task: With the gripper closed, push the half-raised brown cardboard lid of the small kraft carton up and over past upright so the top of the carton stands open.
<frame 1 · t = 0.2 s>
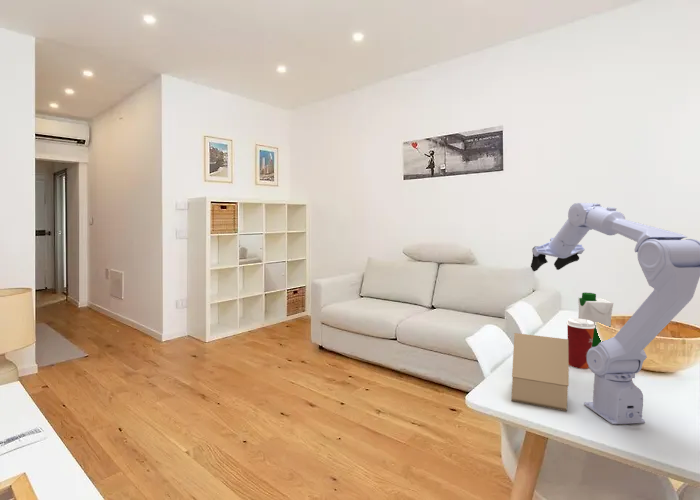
hand: (544, 267, 116), 30 cm above the table, tool tilted 45°, fingers open, 7 cm apart
carton lid: (540, 358, 96), point 11 cm above the table, hinge at 55.0°
paper cup: (578, 365, 120), on the table
milk carton: (592, 352, 132), on the table
carton: (537, 396, 99), on the table
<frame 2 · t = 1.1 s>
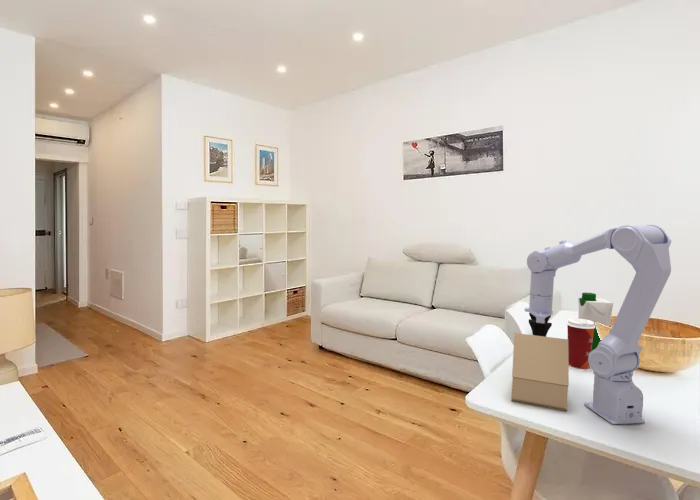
hand: (538, 342, 109), 11 cm above the table, tool pointing down, fingers open, 7 cm apart
nothing on the table moved.
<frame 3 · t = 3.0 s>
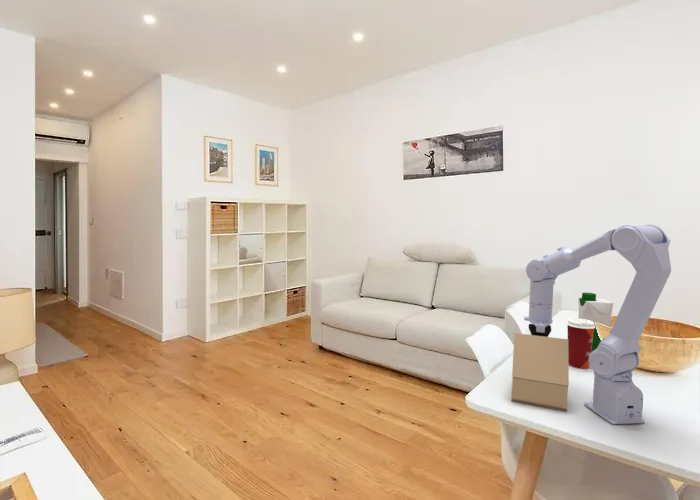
hand: (538, 351, 108), 8 cm above the table, tool pointing down, fingers closed
nothing on the table moved.
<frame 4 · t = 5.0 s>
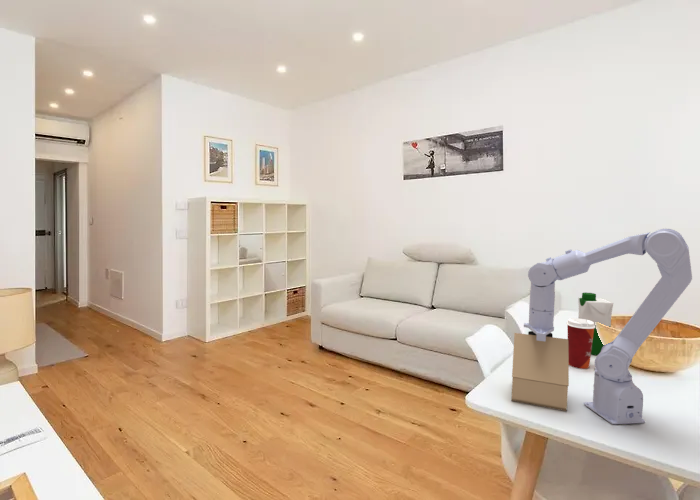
hand: (539, 360, 101), 8 cm above the table, tool pointing down, fingers closed
carton lid: (540, 358, 96), point 11 cm above the table, hinge at 55.7°, touching gripper
everything else where it was.
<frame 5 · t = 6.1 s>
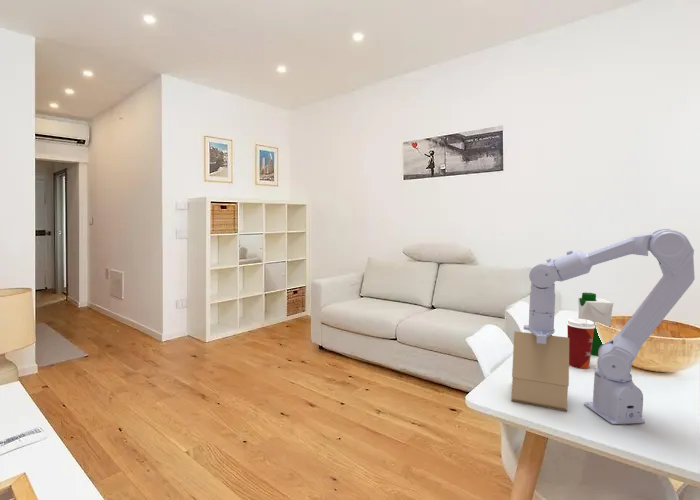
hand: (539, 363, 99), 8 cm above the table, tool pointing down, fingers closed
carton lid: (540, 357, 95), point 11 cm above the table, hinge at 67.4°, touching gripper
everything else where it was.
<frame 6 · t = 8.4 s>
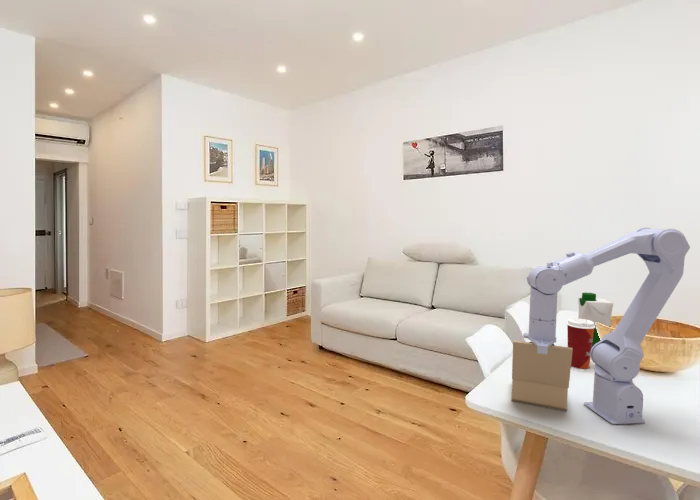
hand: (540, 373, 93), 8 cm above the table, tool pointing down, fingers closed, pressing on carton lid
carton lid: (540, 364, 91), point 11 cm above the table, hinge at 110.7°, touching gripper
everything else where it was.
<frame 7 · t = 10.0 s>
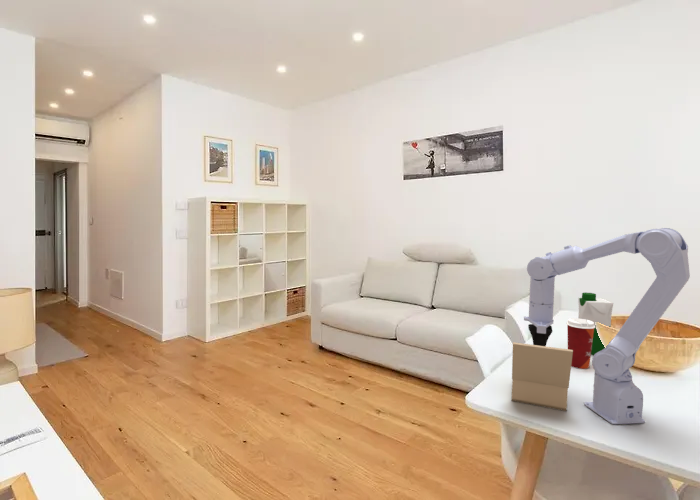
hand: (538, 352, 103), 10 cm above the table, tool pointing down, fingers closed
carton lid: (540, 365, 91), point 11 cm above the table, hinge at 114.3°
everything else where it was.
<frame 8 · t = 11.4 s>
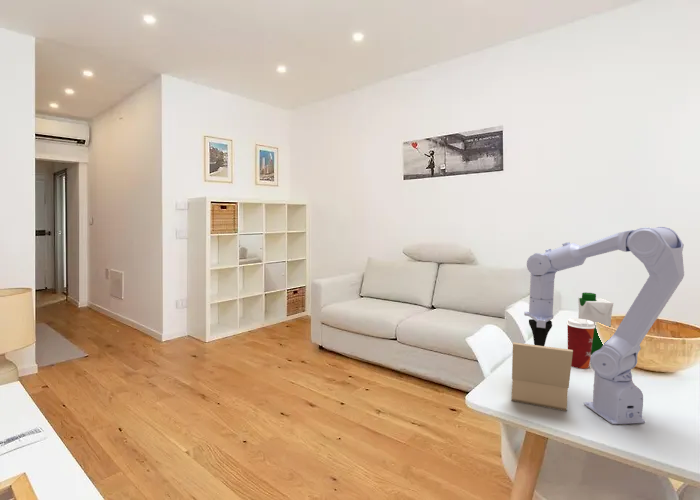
hand: (539, 347, 105), 10 cm above the table, tool pointing down, fingers closed
nothing on the table moved.
at the end: carton lid at +114° (first picture: +55°); paper cup moved 0.2 cm from its start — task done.
